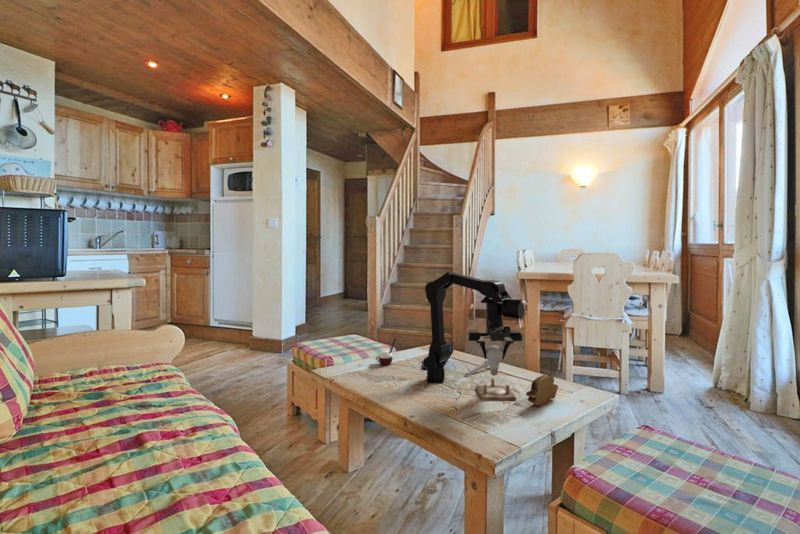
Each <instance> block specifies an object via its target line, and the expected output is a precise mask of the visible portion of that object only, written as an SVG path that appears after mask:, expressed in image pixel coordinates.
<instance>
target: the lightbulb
mask: <svg viewBox="0 0 800 534" xmlns="http://www.w3.org/2000/svg"><path fill="white" fill-rule="evenodd" d="M502 357H503V352H502V347H500V346H498V345H496V344H495V345H490V346H488V347H487V348H486V360H488V362H489V371H490V375H492V376H496V375H498V373H499V371H498V370H499V366H500V364H501V361H502V360H503V359H502Z"/></svg>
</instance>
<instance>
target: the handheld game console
mask: <svg viewBox="0 0 800 534" xmlns="http://www.w3.org/2000/svg"><path fill="white" fill-rule="evenodd" d="M449 344H450V352H451V354H450V356H449V358H448V359H447V360H446V363H445V364H443V368H444V369H445V365H446V364H447V362H448V361H449V359H450V358H451V356H452V355H453V353H454V342H453V341H451V342H450V343H449ZM426 358H427V357H424V358H423V361H424V360H425V359H426ZM421 369H422V370H423V371H427V367H425V366H424V364H423V363H422V367H421Z"/></svg>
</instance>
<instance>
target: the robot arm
mask: <svg viewBox="0 0 800 534" xmlns="http://www.w3.org/2000/svg"><path fill="white" fill-rule="evenodd" d="M453 284H454V285H457V286H461V287H464V288H467V289H471V290H474V291H477V292H478V293H480V294H481V295H483V296H484V298H483V299H481V300H480V303H481V304H485V306H486V307H485V308H486V309H485V316H486V317H485V332H480V331H479V329H470V330H468V331H467V332H466V335H467V336H466V338H467V340H468V341H469V342H476V343H477V344H479V346H480V349H481V351H482V354H483V357H484V360H487V357H486V350H487V348H486V340H485V339H490V341H491V342H502V343H501V344H502V345H501V350H502V352H503V357H502V359H501V360H504V359H505V357H506V353H507V352H508V351H507V350H508V348H509V347H510V346H511V344H514V343H515V342H522V341H523V334H522V333H521V332H520V331H519V330H518V329H516V330H514V329H513V330H512V329H511V326H509V325H508V326H507V325H505V326H504V324H503V323H504V321H503V317H505V319H507V318H508V319H509V318H510V319H516V320H523V319H524V318H525V312H526V308H525V305H524V303H523V299H521V298H518V299H516V298H512V297H511V296H510V294H509V293H508V291H507V289H506V287H505V284H504V282H503V281H502V280H495V279H494V280H493V279H491V280H490V279H480V278H476V277H471V276H469V275H466V274H461V273H457V272H455V271H448V272H445V273H444V274H443V275H442V276H440V277H438V278H436V279H434V280H433V281H428V282H427V283H426V284H425V286H424V292H425V296H426V300H427V302H428V303H429V306H430V321H431V323H430V325H431V327H430V328H431V342H430V345H429V347H428V356H426V357H425V358H426V359H425V360H424V359H423V360H422V365H423V364H424V366H425V367H427V370H426V383H440V384H441V383H444V382H445V381H444V380H445V377H446V376H445V374H446V373H445V367H444V368H443V364H445V363H446V360H447V359H448V358H449V356H450V354H451V352H450V344H451V343H447V341H446V338H445V326H444V325H445V324H444V321H445V320H444V306H443V305H444V300H445V298H446V296H447V295H446V294H447V289H449V288H450V287H452V285H453ZM450 357H451V356H450ZM449 359H450V358H449ZM449 359H448V360H449ZM446 364H447V363H446ZM446 364H445V365H446Z"/></svg>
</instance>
